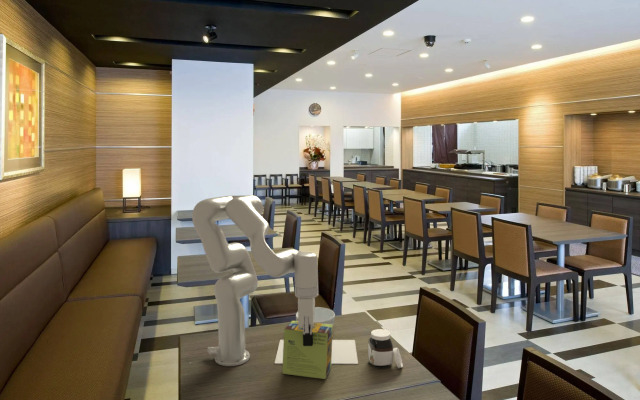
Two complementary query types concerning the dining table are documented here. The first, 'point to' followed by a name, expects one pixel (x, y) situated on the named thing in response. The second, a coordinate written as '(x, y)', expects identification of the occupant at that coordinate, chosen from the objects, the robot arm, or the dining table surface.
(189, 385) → the dining table surface
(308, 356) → the protein box
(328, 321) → the cereal bowl
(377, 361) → the spread jar
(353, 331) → the dining table surface
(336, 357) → the display mat
